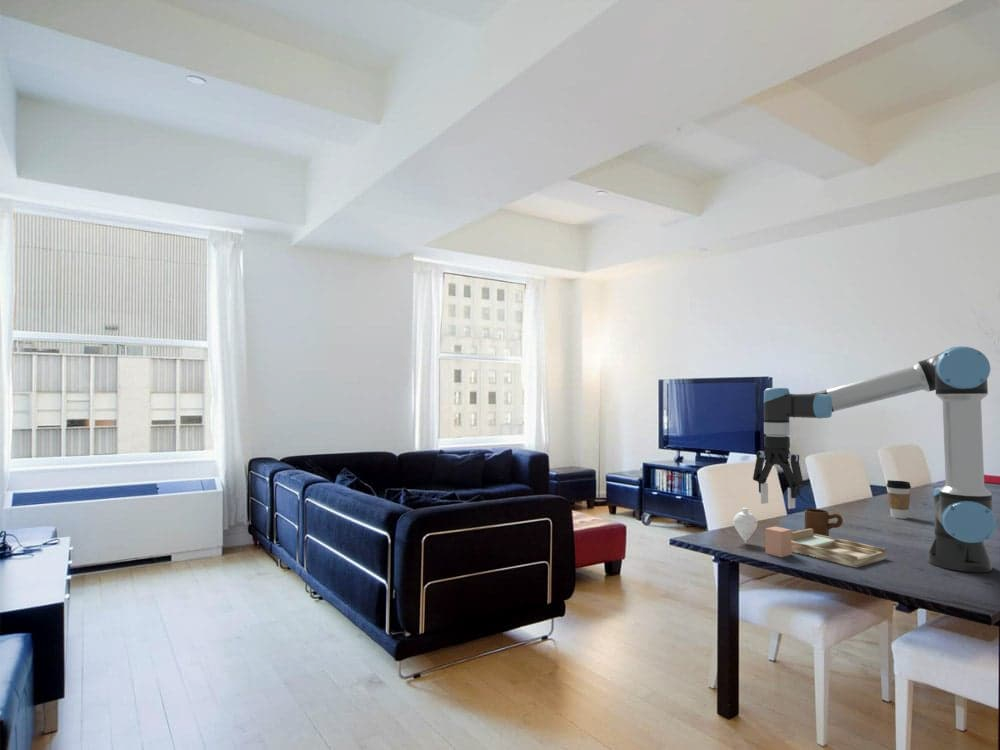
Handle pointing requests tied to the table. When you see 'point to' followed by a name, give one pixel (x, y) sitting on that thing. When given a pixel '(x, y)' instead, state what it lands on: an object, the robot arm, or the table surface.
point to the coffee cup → (899, 498)
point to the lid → (809, 538)
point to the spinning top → (745, 523)
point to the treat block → (778, 541)
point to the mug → (821, 521)
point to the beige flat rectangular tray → (842, 552)
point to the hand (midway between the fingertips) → (777, 505)
